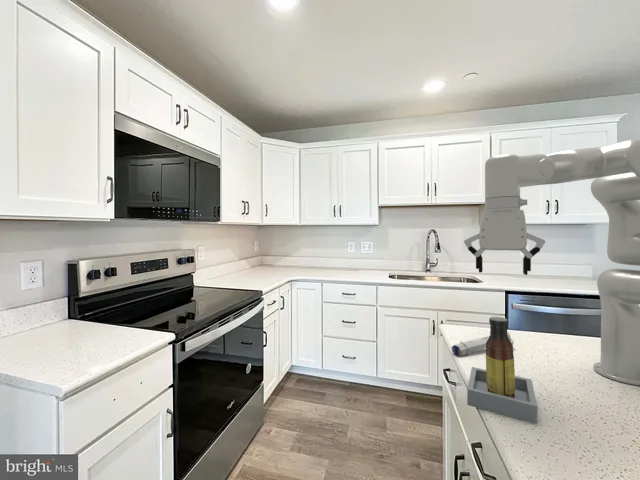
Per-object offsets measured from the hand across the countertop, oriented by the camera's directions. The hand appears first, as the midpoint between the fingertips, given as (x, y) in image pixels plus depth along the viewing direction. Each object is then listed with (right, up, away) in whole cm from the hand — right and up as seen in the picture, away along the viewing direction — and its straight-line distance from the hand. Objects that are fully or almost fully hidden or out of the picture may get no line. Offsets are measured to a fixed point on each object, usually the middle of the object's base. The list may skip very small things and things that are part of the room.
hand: (502, 272), depth 74 cm
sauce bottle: (0, -32, +1) cm, 32 cm away
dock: (0, -33, +1) cm, 33 cm away
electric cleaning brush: (+13, -32, +31) cm, 47 cm away
